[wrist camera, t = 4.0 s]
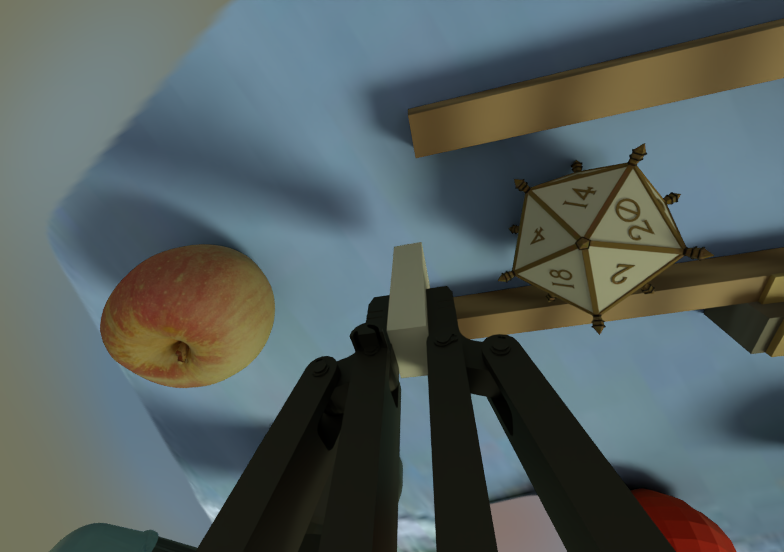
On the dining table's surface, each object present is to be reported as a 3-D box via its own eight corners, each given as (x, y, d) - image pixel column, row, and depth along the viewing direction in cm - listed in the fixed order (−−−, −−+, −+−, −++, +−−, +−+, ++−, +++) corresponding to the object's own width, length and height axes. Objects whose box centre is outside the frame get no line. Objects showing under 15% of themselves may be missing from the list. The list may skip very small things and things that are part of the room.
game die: (510, 184, 23) (461, 164, 15) (663, 143, 19) (715, 79, 10) (530, 307, 24) (493, 354, 15) (684, 297, 19) (751, 355, 11)
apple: (146, 272, 24) (47, 353, 18) (210, 196, 21) (117, 260, 14) (245, 339, 28) (193, 428, 21) (314, 283, 24) (278, 368, 17)
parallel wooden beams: (449, 346, 27) (456, 391, 23) (407, 108, 18) (408, 120, 14) (817, 299, 23) (894, 343, 20) (1018, -40, 14) (1243, -78, 10)
